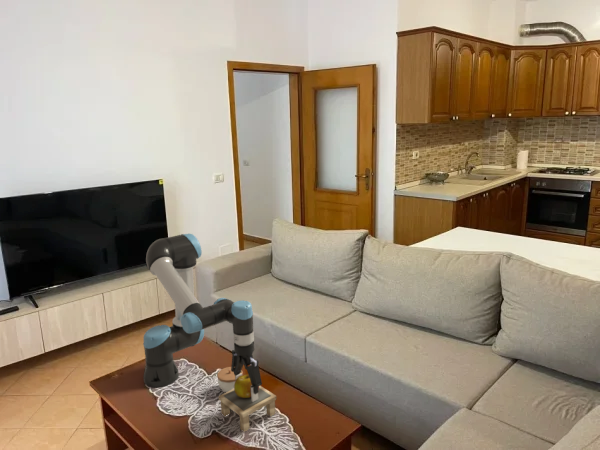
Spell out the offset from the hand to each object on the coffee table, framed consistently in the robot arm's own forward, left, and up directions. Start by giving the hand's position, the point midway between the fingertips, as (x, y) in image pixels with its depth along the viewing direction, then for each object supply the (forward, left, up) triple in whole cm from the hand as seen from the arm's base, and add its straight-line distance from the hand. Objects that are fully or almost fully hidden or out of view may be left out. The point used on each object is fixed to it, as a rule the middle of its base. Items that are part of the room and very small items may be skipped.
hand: (247, 394), depth 178 cm
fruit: (0, 0, -1) cm, 1 cm away
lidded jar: (-19, +5, -9) cm, 22 cm away
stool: (0, 0, -9) cm, 9 cm away
